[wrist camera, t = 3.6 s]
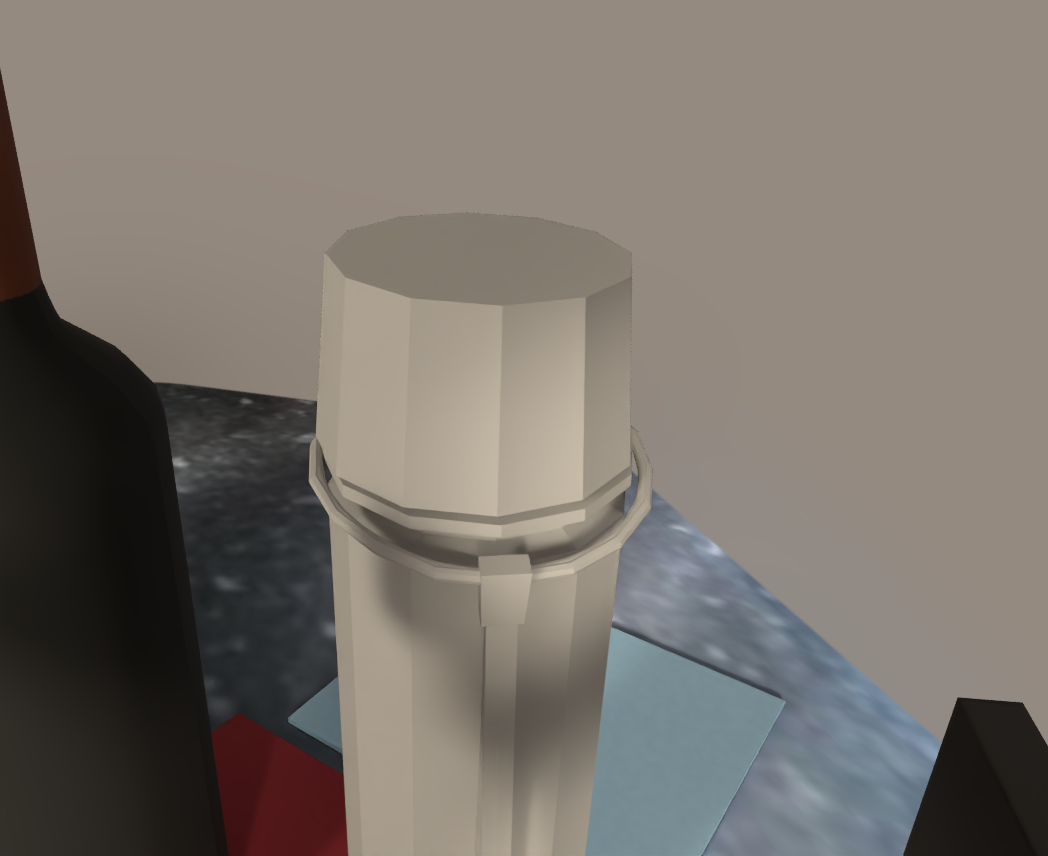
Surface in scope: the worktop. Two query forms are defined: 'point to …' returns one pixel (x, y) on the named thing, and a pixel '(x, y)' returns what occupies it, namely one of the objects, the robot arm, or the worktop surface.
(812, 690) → the worktop surface
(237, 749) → the burgundy mat
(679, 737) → the blue mat
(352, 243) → the water bottle
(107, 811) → the wine bottle
